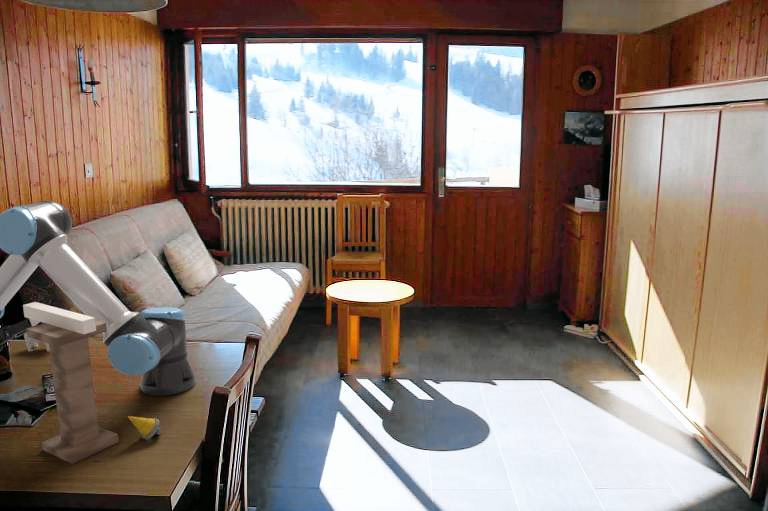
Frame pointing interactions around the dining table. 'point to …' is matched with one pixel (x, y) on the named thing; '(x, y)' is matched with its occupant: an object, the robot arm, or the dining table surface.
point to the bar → (60, 317)
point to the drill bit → (146, 426)
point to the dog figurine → (30, 341)
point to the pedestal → (73, 393)
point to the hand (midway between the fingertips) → (15, 319)
